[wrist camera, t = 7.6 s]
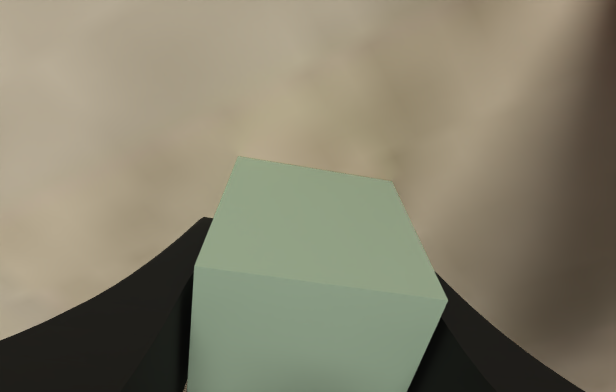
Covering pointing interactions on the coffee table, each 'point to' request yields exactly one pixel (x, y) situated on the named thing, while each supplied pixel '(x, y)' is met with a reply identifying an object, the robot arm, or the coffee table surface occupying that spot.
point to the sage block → (310, 286)
